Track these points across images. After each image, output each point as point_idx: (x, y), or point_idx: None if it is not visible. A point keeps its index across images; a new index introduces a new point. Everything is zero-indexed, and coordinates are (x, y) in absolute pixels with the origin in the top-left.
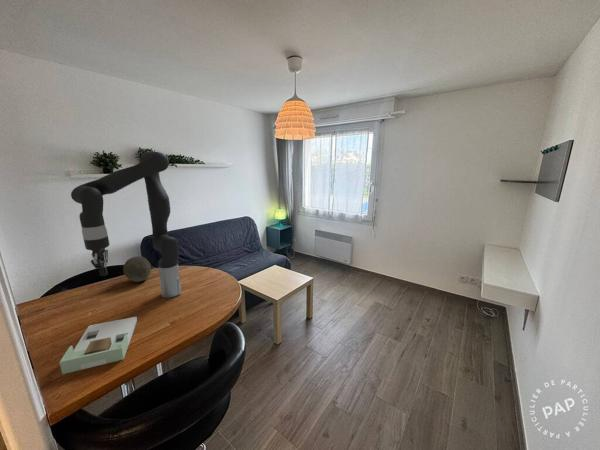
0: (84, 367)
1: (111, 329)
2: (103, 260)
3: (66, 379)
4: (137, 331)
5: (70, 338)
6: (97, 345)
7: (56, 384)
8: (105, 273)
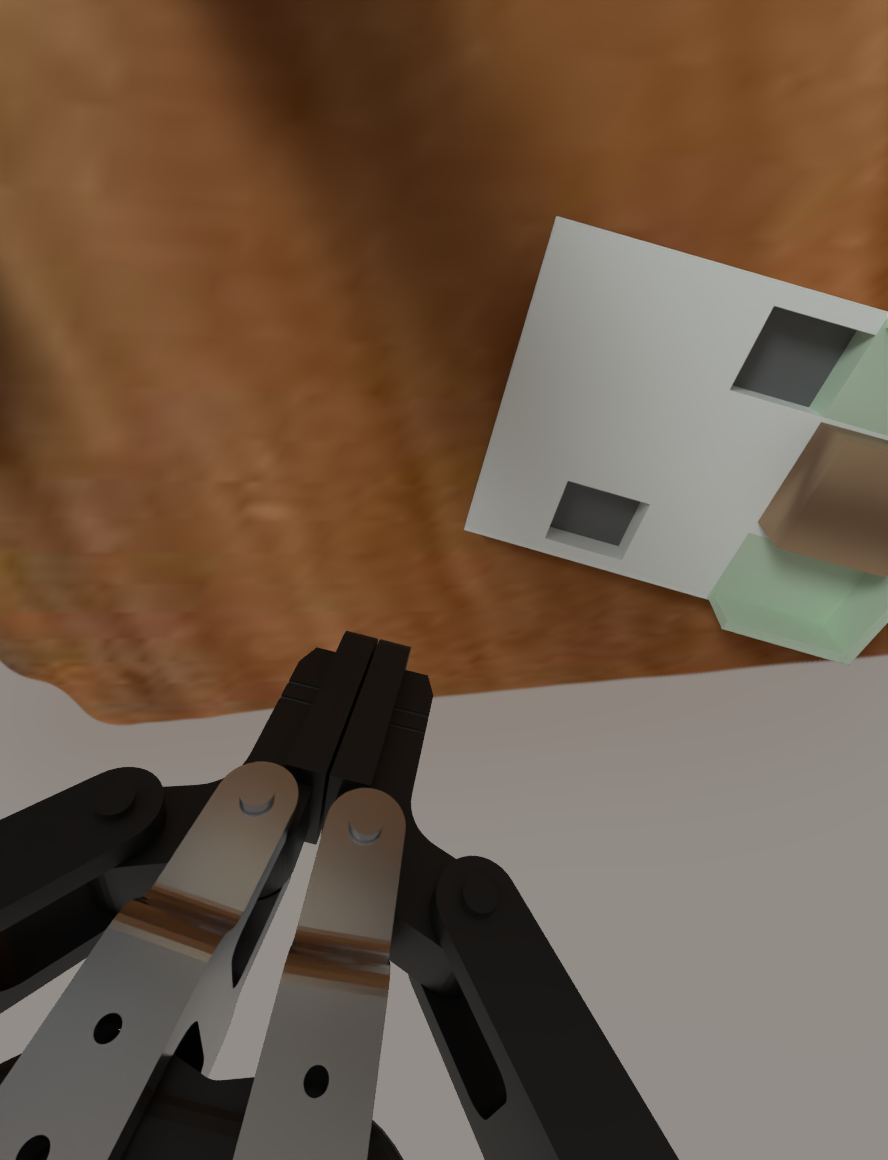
0: None
1: (620, 416)
2: (369, 1080)
3: None
4: (740, 227)
5: (499, 590)
6: (875, 516)
7: None
8: (401, 679)
